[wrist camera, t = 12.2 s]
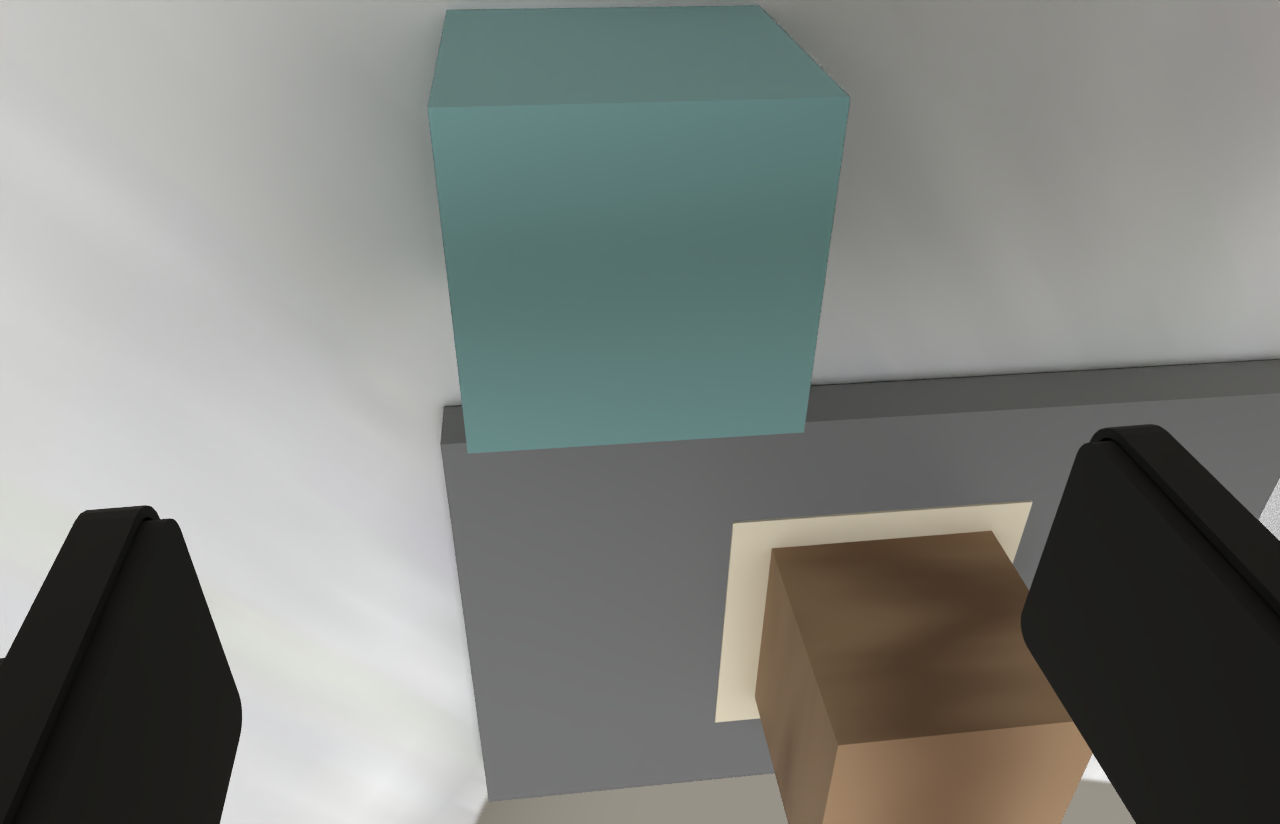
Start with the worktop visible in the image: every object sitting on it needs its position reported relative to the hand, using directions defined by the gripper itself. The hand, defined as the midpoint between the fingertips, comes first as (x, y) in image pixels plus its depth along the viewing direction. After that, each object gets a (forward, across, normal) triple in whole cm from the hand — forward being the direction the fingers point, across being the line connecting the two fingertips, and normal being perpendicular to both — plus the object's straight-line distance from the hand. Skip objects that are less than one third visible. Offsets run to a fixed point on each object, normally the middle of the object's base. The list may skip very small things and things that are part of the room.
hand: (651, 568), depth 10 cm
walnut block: (+10, -8, +13) cm, 18 cm away
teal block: (+12, -1, 0) cm, 12 cm away
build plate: (+12, -8, +13) cm, 19 cm away
